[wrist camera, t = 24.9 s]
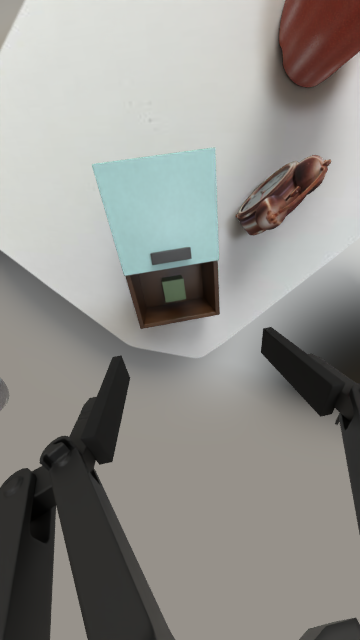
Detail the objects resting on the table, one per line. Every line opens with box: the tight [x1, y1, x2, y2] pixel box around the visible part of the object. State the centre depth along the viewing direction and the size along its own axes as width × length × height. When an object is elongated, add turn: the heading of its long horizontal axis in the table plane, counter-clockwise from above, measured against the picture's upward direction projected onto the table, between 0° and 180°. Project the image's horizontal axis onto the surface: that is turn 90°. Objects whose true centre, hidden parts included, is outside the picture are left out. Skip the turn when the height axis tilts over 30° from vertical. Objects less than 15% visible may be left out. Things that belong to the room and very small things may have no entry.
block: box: [162, 275, 186, 302], centre depth 36 cm, size 4×4×4 cm
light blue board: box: [92, 147, 219, 276], centre depth 23 cm, size 16×14×3 cm
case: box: [126, 260, 220, 329], centre depth 34 cm, size 16×14×10 cm
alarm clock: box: [236, 155, 331, 235], centre depth 27 cm, size 11×5×15 cm, turn 137°
